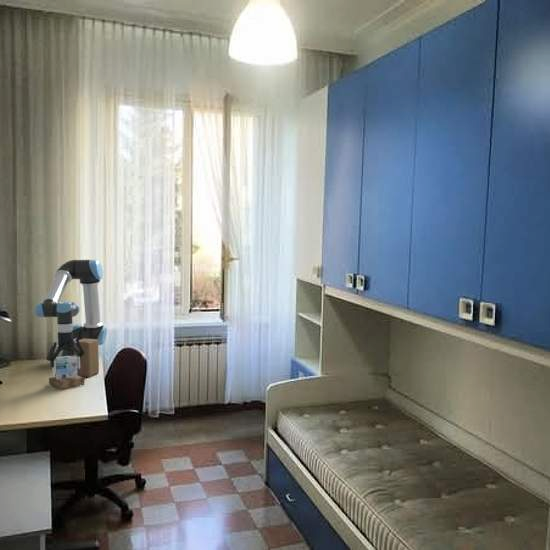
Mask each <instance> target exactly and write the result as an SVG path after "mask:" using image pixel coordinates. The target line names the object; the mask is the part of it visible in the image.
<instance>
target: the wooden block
mask: <svg viewBox="0 0 550 550" xmlns="http://www.w3.org/2000/svg"><path fill="white" fill-rule="evenodd" d="M79 343H80V345H81V347H82V349H83V351H84V352H85V354H84V355H82V357H81V362H80V369H78V368H77V375H78V376H81V377H82V376H83V377H84V378H90V377H93V376H95V375H97V374H99V371H100V366H99V365H100V359H99V345H98V340H97V339H85V338H84V339H81V340H79ZM74 347H75V348H76V349H77V350H78V348H77V346H76V344H75V343H74ZM78 351H79V350H78ZM79 352H80V351H79ZM74 355H75V356H78V355H77V354H76V353H75V352H74Z"/></svg>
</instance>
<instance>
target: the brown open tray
mask: <svg viewBox="0 0 550 550" xmlns="http://www.w3.org/2000/svg"><path fill="white" fill-rule="evenodd" d="M48 382H49V383H48V386H50V385H51V386H50V387H52V386H53V388H55V389H57V390H60V391H63V390H68V389H71V388H72V389H73V388H77V387H81V386H80V385H82V386H85V377H82V376H78V375H77V378H68V379H59V380H57V379H56V376H51V377H49V378H48ZM76 386H77V387H76Z"/></svg>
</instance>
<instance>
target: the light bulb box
mask: <svg viewBox="0 0 550 550" xmlns="http://www.w3.org/2000/svg"><path fill="white" fill-rule="evenodd" d="M54 361H56V374H54V375H55V377H56V379H57V380H59V379H68V378H77V357H76V356H75V355H74V356H64V357H60V356H57V357H56V359H55V360H54Z"/></svg>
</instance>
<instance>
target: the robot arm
mask: <svg viewBox="0 0 550 550" xmlns="http://www.w3.org/2000/svg"><path fill="white" fill-rule="evenodd" d="M103 274H104V272H103V266H102V264H101V261H99V260H97V259H72V260H69V261H66V262H65V263H62V264H61V266H59V267H58V269H57V270H56V271H55V273H54V280H53V282H52V284H51V286H50V288H49V290H48V292H47V293H46V296H45V298H44V300H43V302H39V303H37V304H35V307H34V314H35V316H37V317H38V318H56V319H57V322H56V323H57V325H56V326H57V341H52V342H51V347H50V350H49V351H48V353H47V354H48V355H47V357H46V360H47V361H49V362H50V368H52V369H51V371H52V372H51V373H53V374H54V375H55V374H56V361H55V359H56V357H64V356H74V352H75V353H76V354H77V355H78V356H76V357H77V368H78V369H80V362H81V357H82V355H84V354H85V352H84V351H83V349H82V347H81V345H80V343H79V340H81V339H84V338H85V339H97V340H98V346H103V345H104V344H105V341H106V340H107V339H106V338H107V334H108V330H107V326H105V325H104V322H103V321H101V315H100V314H101V310H100V299H99V297H100V296H99V283H100V282H101V280H102V279H103ZM72 280H79V284H81V285H82V291H83V305H84V316H85V322H84V323H83V325H82V324H81V323H74V324H73V317H76V316H77V315H78V314H79V313H80V312H81V308H80V305H79V304H78V303H77V302H75V301H72V302H71V301H60V300H61V298H62V297H63V295H64V292H65V290H66V288H67V286H68V284H69V283H70V282H71V281H72ZM74 343H75V344H76V346H77V348H78V350H79V351H80V352H79V351H78V350H77V349H76V348H75V347H74ZM60 353H61V354H60ZM59 355H60V356H59Z"/></svg>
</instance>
